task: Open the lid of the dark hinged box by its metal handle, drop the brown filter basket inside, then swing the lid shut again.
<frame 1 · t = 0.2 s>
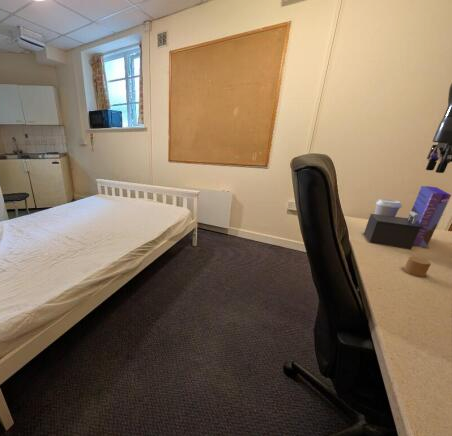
hand: (434, 171, 91), 32 cm above the table, tool pointing down, fingers open, 8 cm apart
cereal box: (413, 239, 104), on the table
lid: (396, 216, 98), point 12 cm above the table, hinge at 0.0°
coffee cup: (379, 228, 117), on the table
dark hinged box: (385, 240, 102), on the table
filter: (414, 272, 79), on the table
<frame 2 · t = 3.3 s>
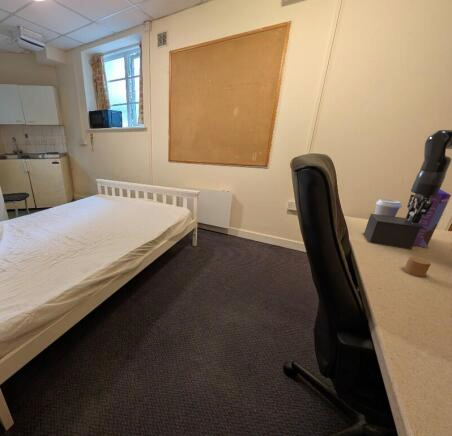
hand: (411, 220, 96), 11 cm above the table, tool pointing down, fingers closed on lid, 5 cm apart
lid: (396, 216, 98), point 12 cm above the table, hinge at 0.0°, touching gripper
everything else where it was.
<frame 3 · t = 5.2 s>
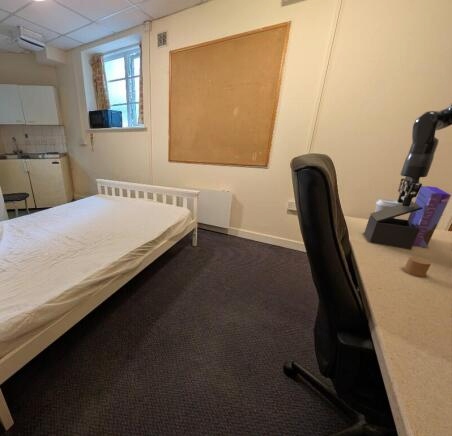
hand: (402, 204, 96), 18 cm above the table, tool pointing down, fingers closed on lid, 5 cm apart
lid: (391, 207, 98), point 16 cm above the table, hinge at 35.2°, touching gripper
everything else where it was.
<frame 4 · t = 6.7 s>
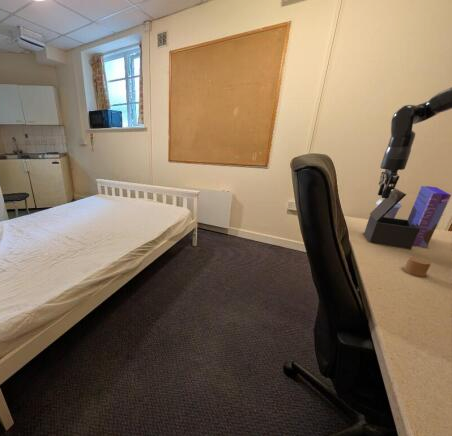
hand: (382, 196, 98), 21 cm above the table, tool pointing down, fingers closed on lid, 5 cm apart
lid: (381, 202, 99), point 18 cm above the table, hinge at 67.8°, touching gripper
everything else where it was.
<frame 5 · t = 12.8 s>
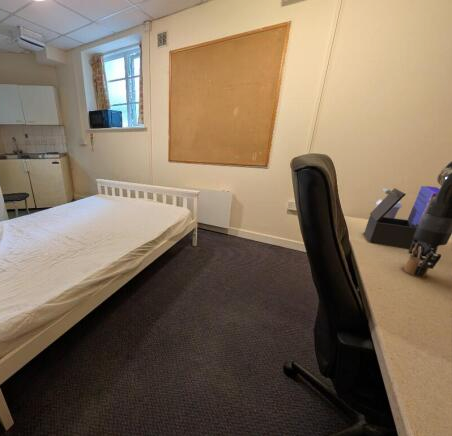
hand: (414, 271, 79), 0 cm above the table, tool pointing down, fingers closed on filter, 5 cm apart
lid: (381, 202, 99), point 18 cm above the table, hinge at 68.5°
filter: (414, 272, 79), on the table, touching gripper
everything else where it was.
when the fingers open (8 cm above the table, at t = 20.1 s): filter drops 7 cm, resting on dark hinged box.
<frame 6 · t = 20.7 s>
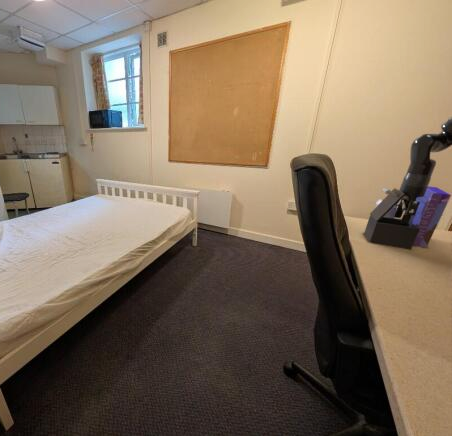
hand: (400, 220, 98), 11 cm above the table, tool pointing down, fingers open, 8 cm apart
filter: (392, 240, 101), point 1 cm above the table, touching dark hinged box
everything else where it was.
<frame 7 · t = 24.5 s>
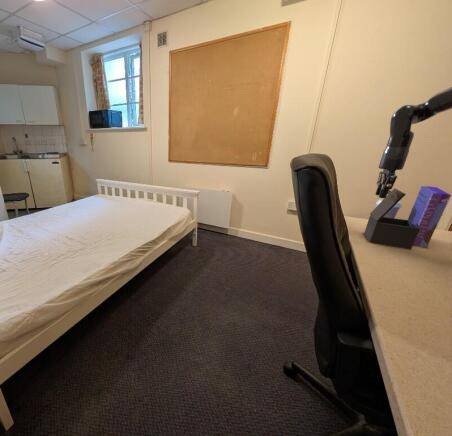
hand: (380, 196, 99), 21 cm above the table, tool pointing down, fingers closed on lid, 5 cm apart
lid: (381, 202, 99), point 18 cm above the table, hinge at 68.5°, touching gripper
everything else where it was.
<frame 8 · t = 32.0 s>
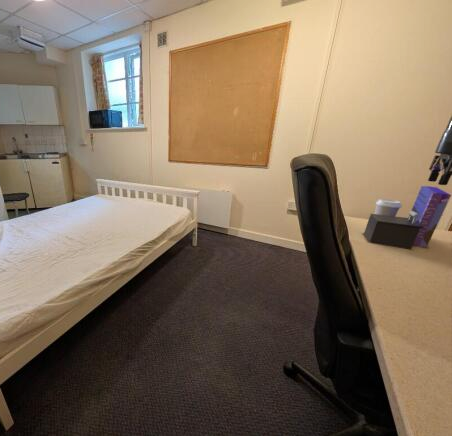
hand: (436, 183, 89), 28 cm above the table, tool pointing down, fingers open, 8 cm apart
lid: (396, 216, 98), point 12 cm above the table, hinge at 0.6°
everything else where it was.
at the end: lid reached +68° during the clip, +1° at the end; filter inside the target area in the dark hinged box (1.9 cm from its centre), point 0.8 cm above the dark hinged box's base; lid at +1° (first picture: +0°) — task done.
